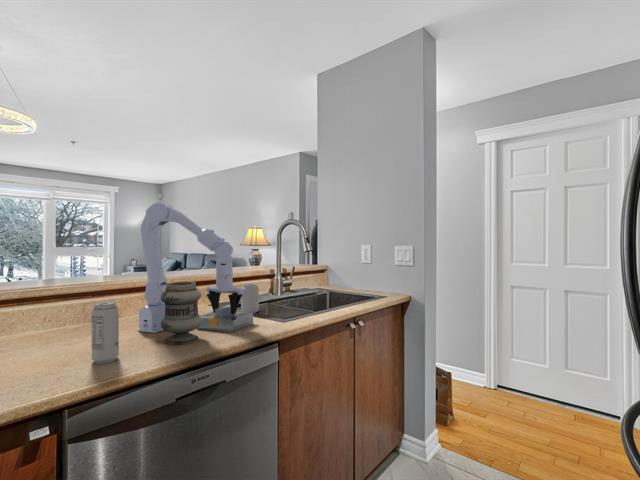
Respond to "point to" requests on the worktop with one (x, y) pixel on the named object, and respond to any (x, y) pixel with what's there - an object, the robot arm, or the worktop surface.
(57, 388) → the worktop surface
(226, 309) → the block
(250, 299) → the can
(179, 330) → the apothecary jar
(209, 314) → the rack
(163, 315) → the robot arm
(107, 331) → the energy drink can
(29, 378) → the worktop surface
